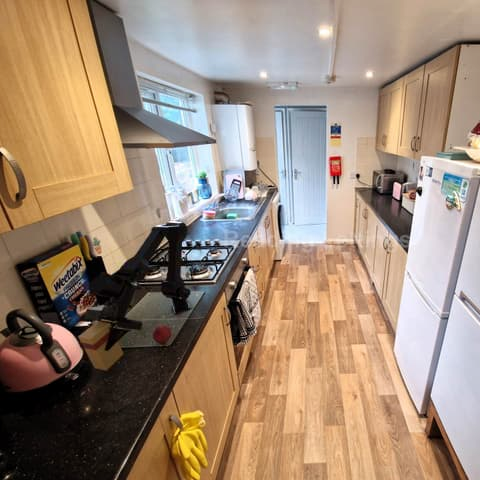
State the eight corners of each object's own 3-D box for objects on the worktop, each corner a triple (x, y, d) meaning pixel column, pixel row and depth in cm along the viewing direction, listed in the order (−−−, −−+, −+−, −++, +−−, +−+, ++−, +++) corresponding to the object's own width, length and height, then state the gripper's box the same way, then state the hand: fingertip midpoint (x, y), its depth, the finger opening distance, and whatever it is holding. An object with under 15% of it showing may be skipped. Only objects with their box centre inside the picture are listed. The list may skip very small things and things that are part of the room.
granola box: (94, 368, 84) (77, 336, 78) (112, 351, 90) (98, 320, 84) (106, 370, 84) (90, 339, 77) (123, 353, 89) (110, 323, 83)
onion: (165, 349, 95) (160, 331, 92) (151, 346, 96) (146, 329, 93) (176, 338, 101) (172, 321, 98) (163, 335, 102) (158, 319, 99)
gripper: (75, 291, 83) (49, 344, 77) (124, 299, 80) (101, 354, 74) (106, 298, 93) (85, 345, 88) (151, 305, 90) (132, 354, 84)
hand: (100, 349), depth 83 cm, fingers closed on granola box, 4 cm apart
